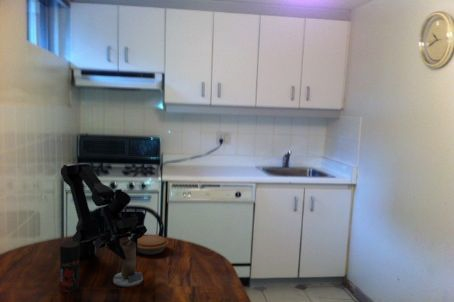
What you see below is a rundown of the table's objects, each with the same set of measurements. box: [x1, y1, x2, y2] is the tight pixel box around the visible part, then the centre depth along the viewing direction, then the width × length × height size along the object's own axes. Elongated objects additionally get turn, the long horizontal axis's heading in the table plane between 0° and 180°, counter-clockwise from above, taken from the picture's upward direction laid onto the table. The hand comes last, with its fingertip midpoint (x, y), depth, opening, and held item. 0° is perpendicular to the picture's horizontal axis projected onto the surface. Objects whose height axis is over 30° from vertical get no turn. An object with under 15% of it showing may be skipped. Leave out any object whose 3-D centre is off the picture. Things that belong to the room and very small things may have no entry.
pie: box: [137, 234, 170, 256], centre depth 165 cm, size 16×16×5 cm
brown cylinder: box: [120, 240, 137, 277], centre depth 135 cm, size 5×5×12 cm
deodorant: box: [59, 240, 80, 293], centre depth 127 cm, size 6×6×15 cm
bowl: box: [113, 271, 144, 288], centre depth 135 cm, size 10×10×4 cm
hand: (131, 257), depth 134 cm, fingers closed on brown cylinder, 5 cm apart
